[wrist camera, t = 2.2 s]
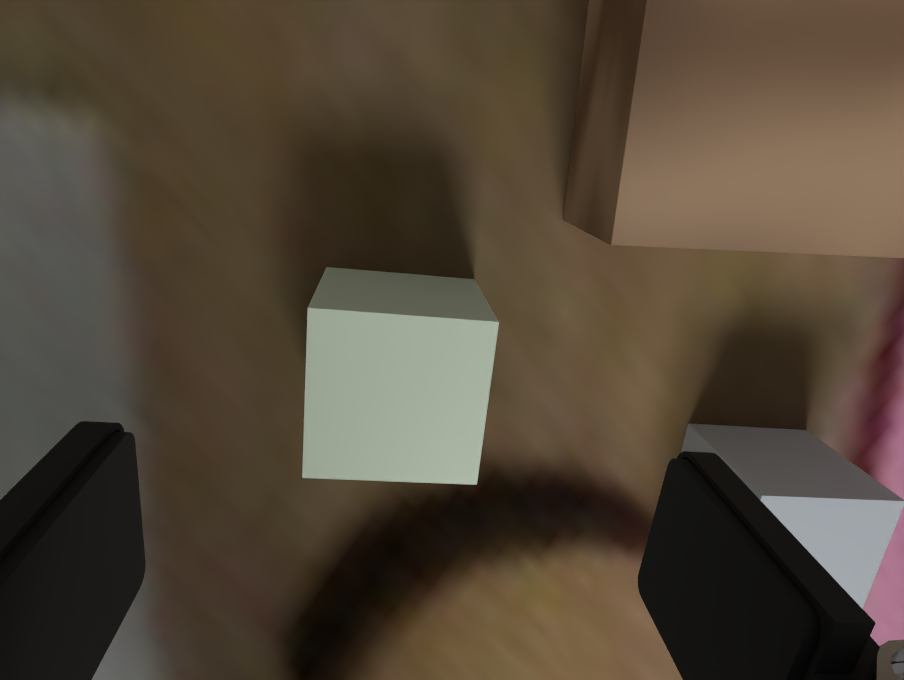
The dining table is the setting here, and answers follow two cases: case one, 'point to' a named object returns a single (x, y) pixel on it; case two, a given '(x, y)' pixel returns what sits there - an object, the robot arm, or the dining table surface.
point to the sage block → (397, 377)
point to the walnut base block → (741, 126)
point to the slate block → (811, 496)
